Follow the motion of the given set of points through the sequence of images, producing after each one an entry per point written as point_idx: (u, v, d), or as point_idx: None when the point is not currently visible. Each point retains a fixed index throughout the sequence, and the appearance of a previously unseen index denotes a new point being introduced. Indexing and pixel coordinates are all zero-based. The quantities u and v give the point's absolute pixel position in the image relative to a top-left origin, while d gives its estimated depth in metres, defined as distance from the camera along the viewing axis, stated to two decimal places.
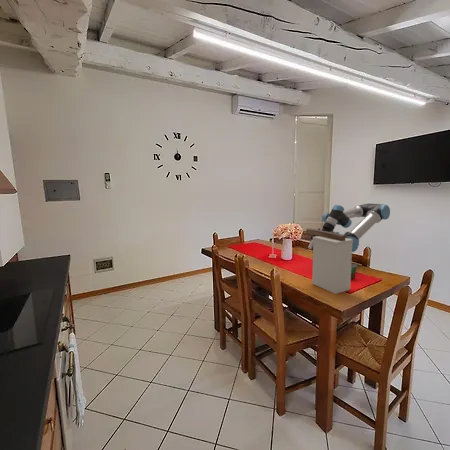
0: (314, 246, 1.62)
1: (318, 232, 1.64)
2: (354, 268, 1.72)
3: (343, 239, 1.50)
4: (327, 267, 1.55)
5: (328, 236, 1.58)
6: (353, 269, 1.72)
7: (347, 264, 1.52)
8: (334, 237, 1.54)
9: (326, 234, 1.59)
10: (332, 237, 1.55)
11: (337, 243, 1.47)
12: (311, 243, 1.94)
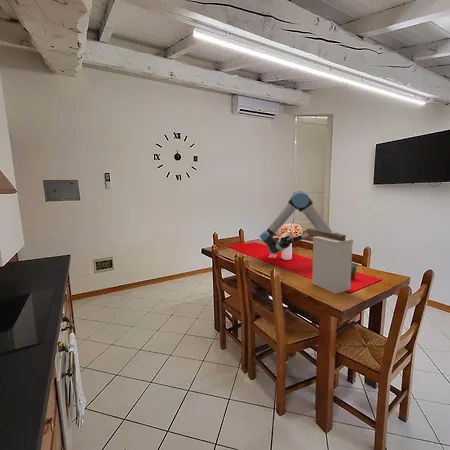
0: (314, 246, 1.62)
1: (318, 232, 1.64)
2: (354, 268, 1.72)
3: (343, 239, 1.50)
4: (327, 267, 1.55)
5: (328, 236, 1.58)
6: (353, 269, 1.72)
7: (347, 264, 1.52)
8: (334, 237, 1.54)
9: (326, 234, 1.59)
10: (332, 237, 1.55)
11: (337, 243, 1.47)
12: (304, 236, 1.88)
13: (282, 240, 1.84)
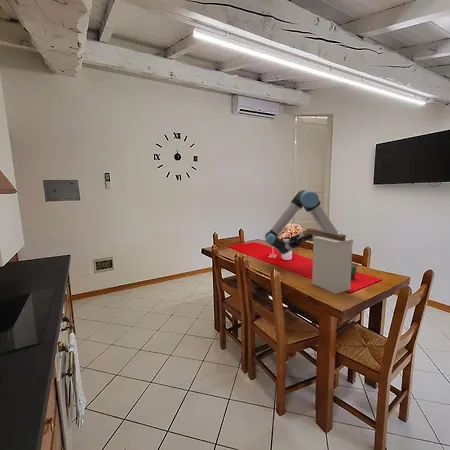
0: (314, 246, 1.62)
1: (318, 232, 1.64)
2: (354, 268, 1.72)
3: (343, 239, 1.50)
4: (327, 267, 1.55)
5: (328, 236, 1.58)
6: (353, 269, 1.72)
7: (347, 264, 1.52)
8: (334, 237, 1.54)
9: (326, 234, 1.59)
10: (332, 237, 1.55)
11: (337, 243, 1.47)
12: None
13: (292, 239, 1.74)
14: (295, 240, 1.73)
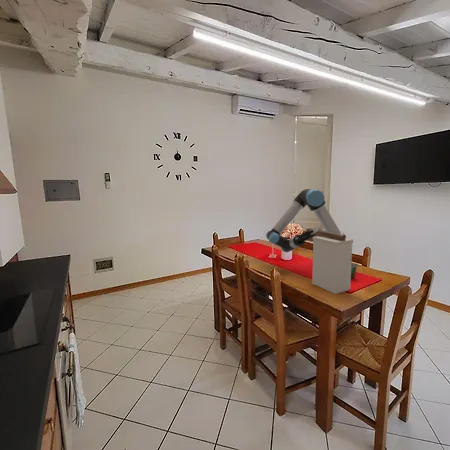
0: (314, 246, 1.62)
1: (318, 232, 1.64)
2: (354, 268, 1.72)
3: (343, 239, 1.50)
4: (327, 267, 1.55)
5: (328, 236, 1.58)
6: (353, 269, 1.72)
7: (347, 264, 1.52)
8: (334, 237, 1.54)
9: (326, 234, 1.59)
10: (332, 237, 1.55)
11: (337, 243, 1.47)
12: None
13: (306, 234, 1.69)
14: (309, 235, 1.69)
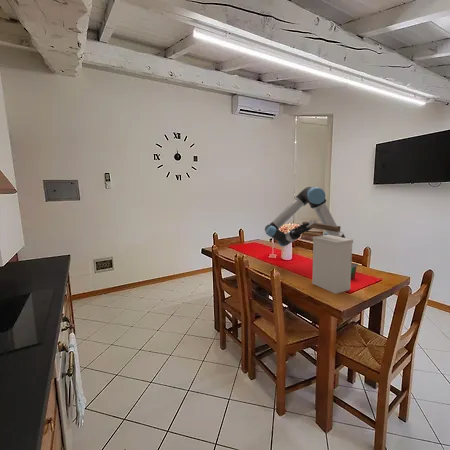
0: (314, 246, 1.62)
1: (314, 224, 1.66)
2: (354, 268, 1.72)
3: (338, 230, 1.52)
4: (327, 267, 1.55)
5: (323, 228, 1.59)
6: (353, 269, 1.72)
7: (347, 264, 1.52)
8: (329, 228, 1.55)
9: (321, 226, 1.61)
10: (328, 228, 1.57)
11: (337, 243, 1.47)
12: None
13: (302, 227, 1.71)
14: (305, 228, 1.71)
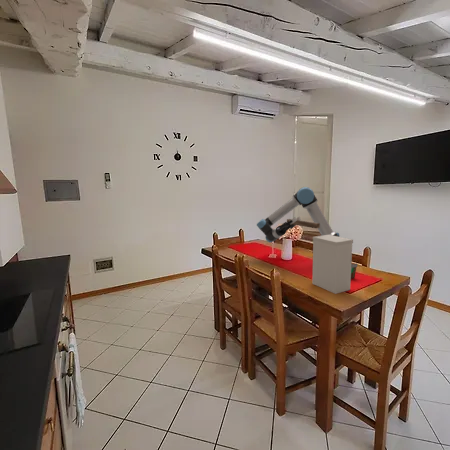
0: (314, 246, 1.62)
1: (296, 222, 1.81)
2: (354, 268, 1.72)
3: (317, 227, 1.66)
4: (327, 267, 1.55)
5: (305, 225, 1.74)
6: (353, 269, 1.72)
7: (347, 264, 1.52)
8: (310, 225, 1.70)
9: (303, 223, 1.75)
10: (308, 225, 1.71)
11: (337, 243, 1.47)
12: None
13: (286, 224, 1.86)
14: (289, 225, 1.86)
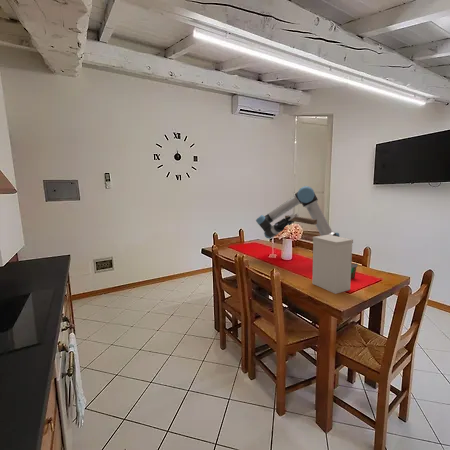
0: (314, 246, 1.62)
1: (294, 218, 1.83)
2: (354, 268, 1.72)
3: (314, 223, 1.68)
4: (327, 267, 1.55)
5: (302, 221, 1.76)
6: (353, 269, 1.72)
7: (347, 264, 1.52)
8: (307, 221, 1.72)
9: (301, 219, 1.77)
10: (306, 221, 1.73)
11: (337, 243, 1.47)
12: None
13: (284, 220, 1.88)
14: (287, 221, 1.88)
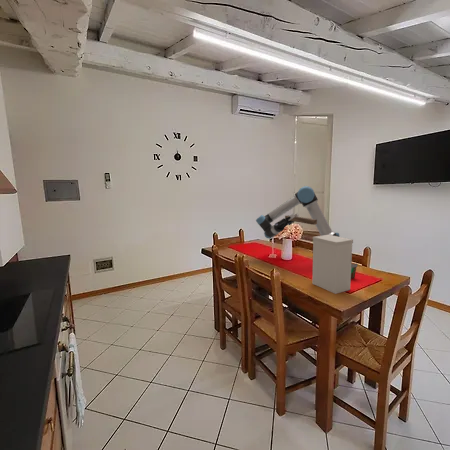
0: (314, 246, 1.62)
1: (294, 218, 1.83)
2: (354, 268, 1.72)
3: (314, 223, 1.68)
4: (327, 267, 1.55)
5: (302, 221, 1.76)
6: (353, 269, 1.72)
7: (347, 264, 1.52)
8: (307, 221, 1.72)
9: (301, 219, 1.77)
10: (306, 221, 1.73)
11: (337, 243, 1.47)
12: None
13: (284, 220, 1.88)
14: (287, 221, 1.88)
